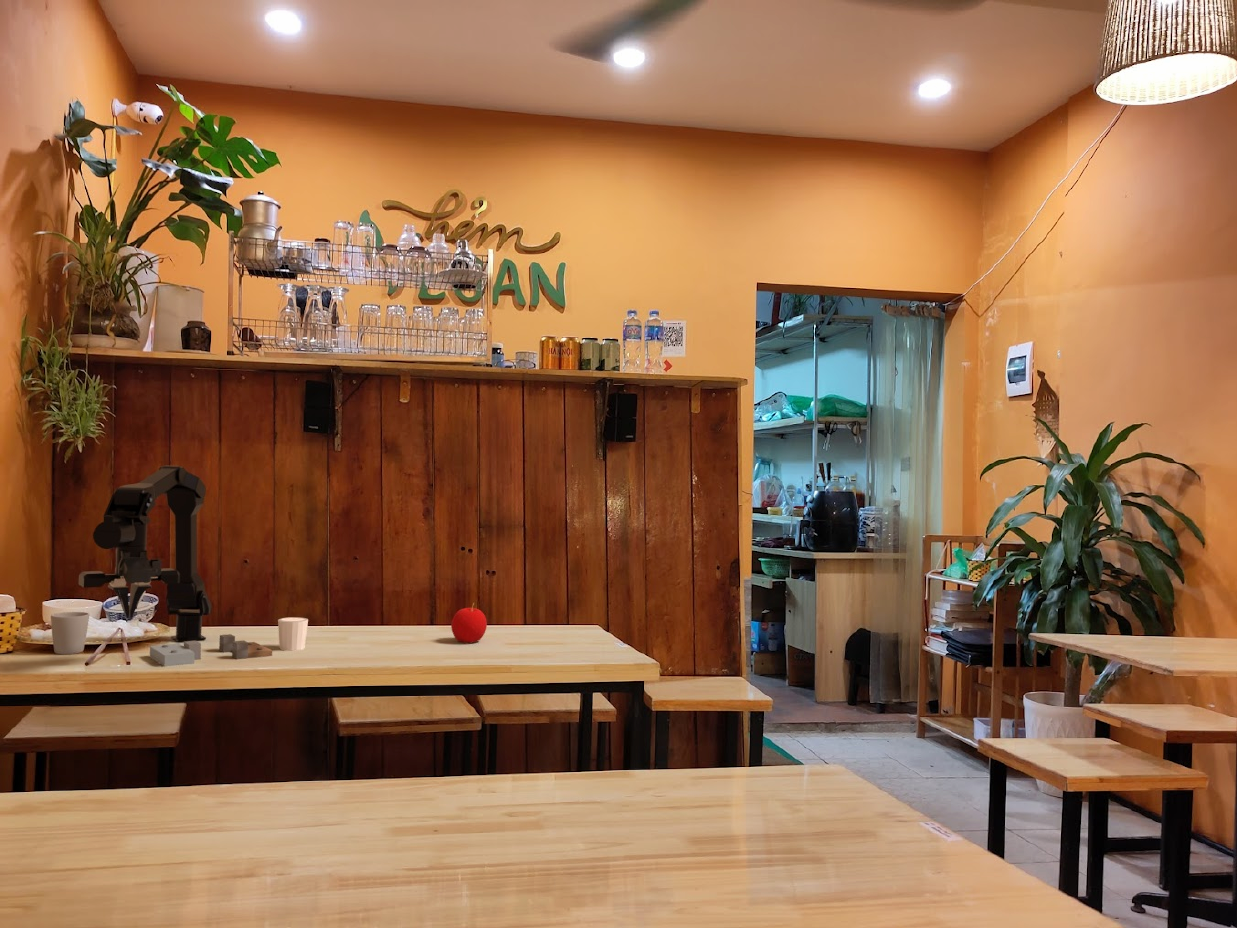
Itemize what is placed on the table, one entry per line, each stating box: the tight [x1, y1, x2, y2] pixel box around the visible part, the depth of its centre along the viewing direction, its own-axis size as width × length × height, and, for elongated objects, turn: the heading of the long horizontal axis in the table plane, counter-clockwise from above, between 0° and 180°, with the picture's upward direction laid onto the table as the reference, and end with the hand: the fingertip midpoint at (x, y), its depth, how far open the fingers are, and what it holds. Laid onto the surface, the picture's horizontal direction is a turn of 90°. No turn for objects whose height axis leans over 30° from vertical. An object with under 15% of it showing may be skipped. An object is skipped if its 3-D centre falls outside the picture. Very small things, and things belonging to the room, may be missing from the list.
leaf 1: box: [149, 640, 202, 668], centre depth 209 cm, size 8×12×4 cm
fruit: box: [451, 602, 488, 644], centre depth 243 cm, size 9×9×10 cm
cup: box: [50, 611, 90, 655], centre depth 214 cm, size 8×10×8 cm
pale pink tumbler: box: [277, 616, 309, 652], centre depth 226 cm, size 7×7×7 cm
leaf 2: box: [218, 633, 273, 660], centre depth 219 cm, size 8×12×4 cm, turn 40°
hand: (128, 617), depth 203 cm, fingers closed
